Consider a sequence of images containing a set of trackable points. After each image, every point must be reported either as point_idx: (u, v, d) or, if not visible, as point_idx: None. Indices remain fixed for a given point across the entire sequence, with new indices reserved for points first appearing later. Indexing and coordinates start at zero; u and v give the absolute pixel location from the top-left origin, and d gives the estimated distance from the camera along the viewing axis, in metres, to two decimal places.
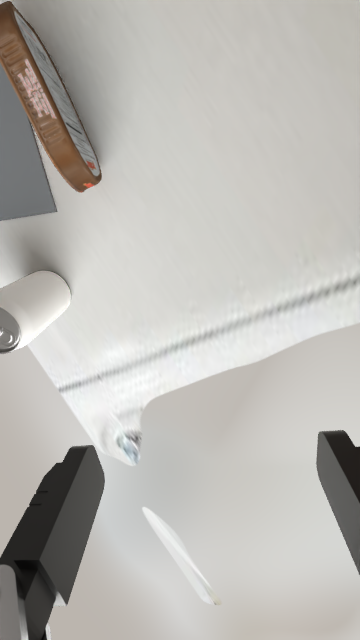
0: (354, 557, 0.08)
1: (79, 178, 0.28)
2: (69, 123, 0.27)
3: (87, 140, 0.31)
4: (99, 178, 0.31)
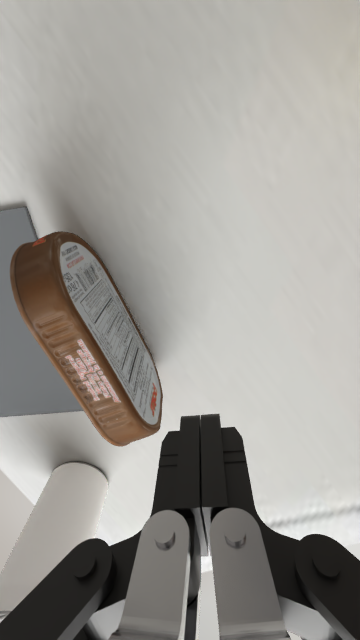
0: None
1: None
2: (130, 369, 0.19)
3: (143, 345, 0.23)
4: (161, 404, 0.22)
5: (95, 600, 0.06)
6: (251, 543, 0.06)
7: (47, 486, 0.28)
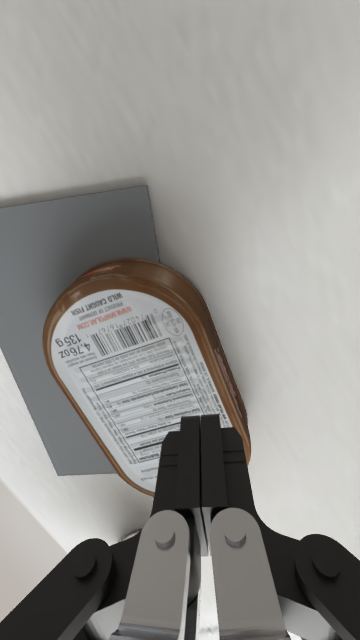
0: None
1: None
2: (151, 442, 0.16)
3: None
4: None
5: (95, 600, 0.06)
6: (251, 543, 0.06)
7: None
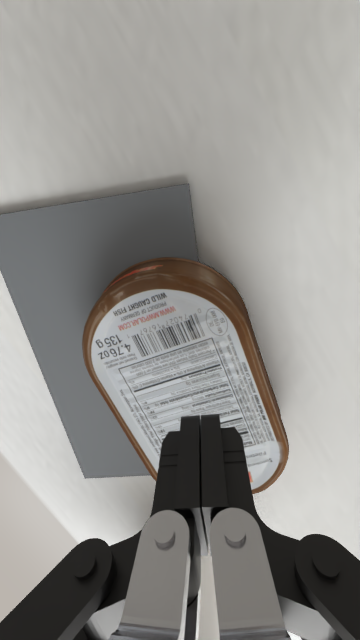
0: None
1: None
2: None
3: (271, 434, 0.15)
4: None
5: (95, 600, 0.06)
6: (251, 543, 0.06)
7: None
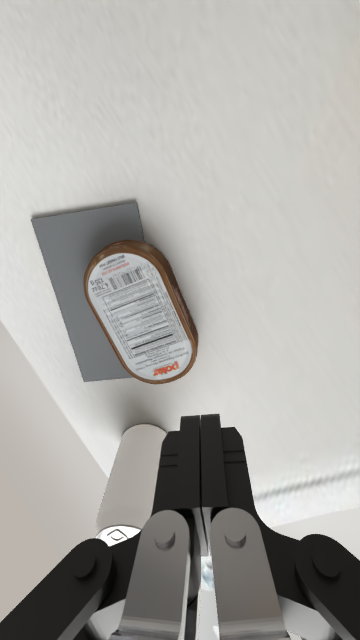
0: None
1: None
2: (140, 343, 0.28)
3: (185, 335, 0.27)
4: (178, 376, 0.29)
5: (95, 600, 0.06)
6: (251, 543, 0.06)
7: (124, 442, 0.33)
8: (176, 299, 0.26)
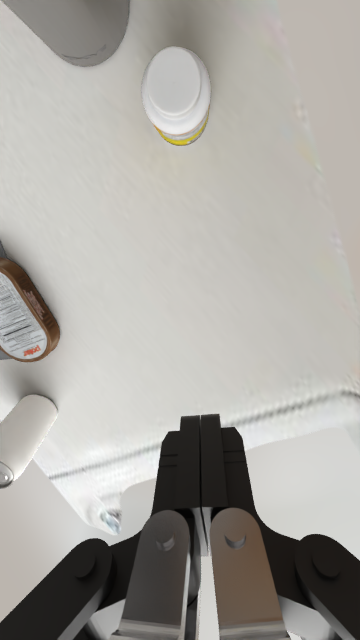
0: None
1: None
2: (9, 331, 0.38)
3: (39, 325, 0.37)
4: (41, 356, 0.40)
5: (95, 600, 0.06)
6: (251, 543, 0.06)
7: (14, 407, 0.44)
8: (27, 300, 0.36)
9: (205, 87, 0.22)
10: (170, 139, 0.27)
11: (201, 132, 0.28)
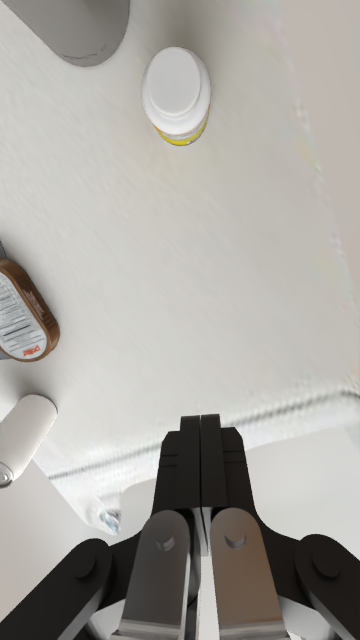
0: None
1: None
2: (9, 331, 0.38)
3: (38, 325, 0.37)
4: (41, 356, 0.40)
5: (95, 600, 0.06)
6: (251, 543, 0.06)
7: (14, 407, 0.44)
8: (26, 299, 0.36)
9: (205, 87, 0.22)
10: (170, 139, 0.27)
11: (201, 132, 0.28)
